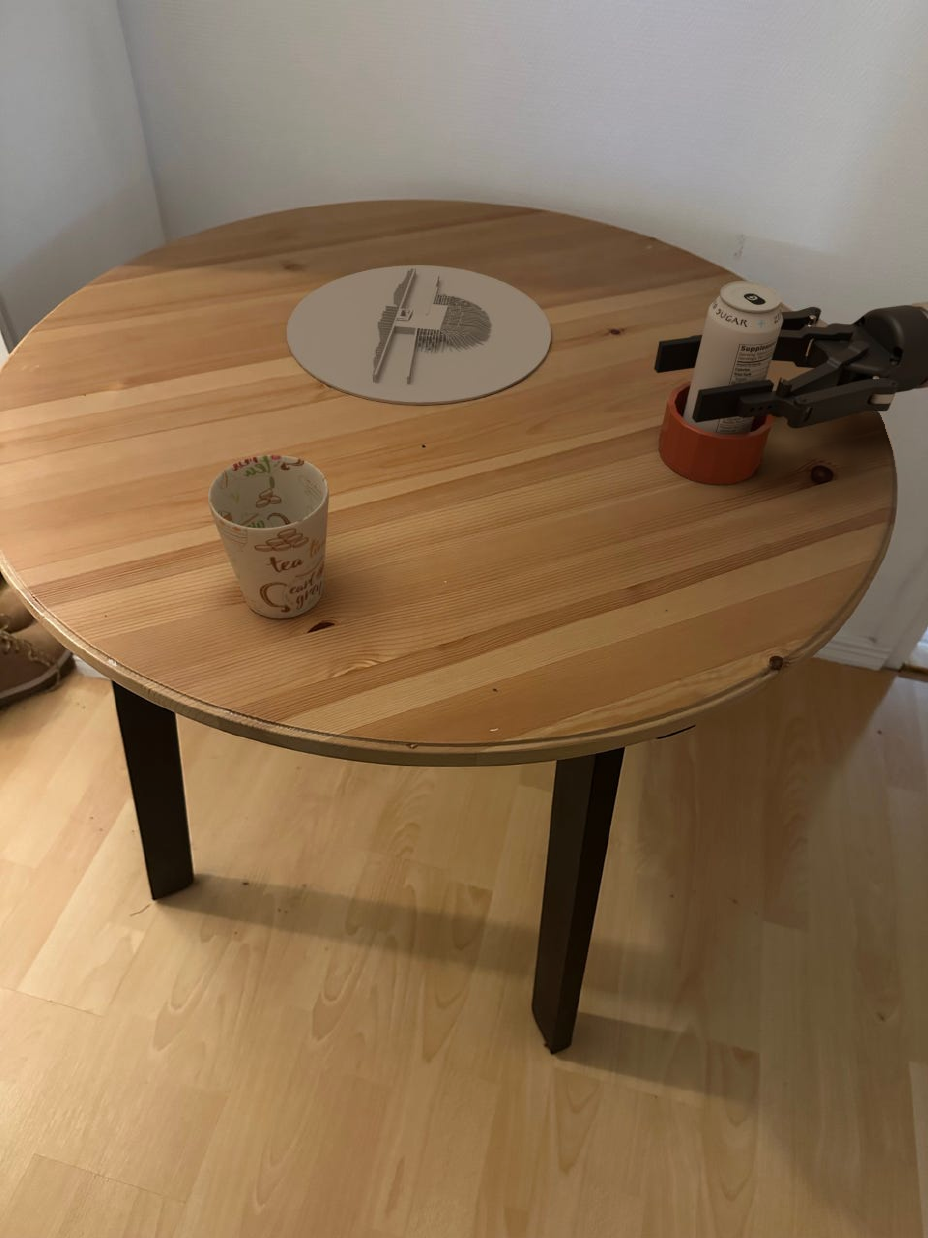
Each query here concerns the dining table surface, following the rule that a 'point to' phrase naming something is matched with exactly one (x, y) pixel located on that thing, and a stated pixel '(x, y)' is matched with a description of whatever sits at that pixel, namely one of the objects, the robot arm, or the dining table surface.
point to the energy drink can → (735, 347)
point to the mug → (273, 531)
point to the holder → (709, 446)
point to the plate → (418, 335)
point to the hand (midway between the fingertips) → (677, 380)
